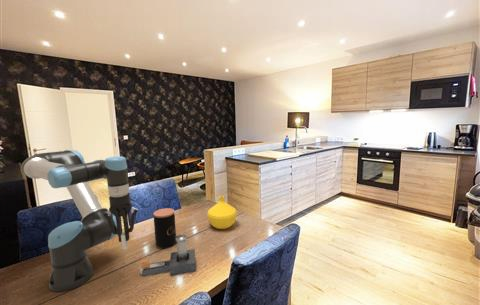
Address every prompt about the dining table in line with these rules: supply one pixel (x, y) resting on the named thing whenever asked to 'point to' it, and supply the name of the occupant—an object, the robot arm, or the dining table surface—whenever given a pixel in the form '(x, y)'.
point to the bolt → (150, 265)
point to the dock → (175, 265)
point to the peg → (182, 247)
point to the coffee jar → (165, 227)
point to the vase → (222, 214)
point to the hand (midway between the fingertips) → (125, 247)
